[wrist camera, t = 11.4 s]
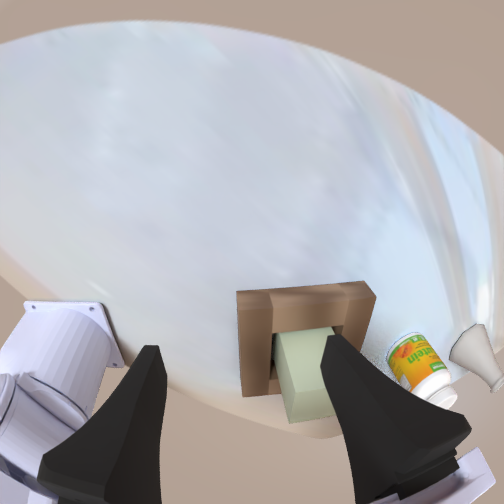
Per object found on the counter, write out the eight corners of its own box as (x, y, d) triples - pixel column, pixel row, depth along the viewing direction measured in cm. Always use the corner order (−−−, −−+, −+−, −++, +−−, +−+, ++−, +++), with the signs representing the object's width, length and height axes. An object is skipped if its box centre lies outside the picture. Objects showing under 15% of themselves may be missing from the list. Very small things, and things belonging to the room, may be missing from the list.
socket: (240, 378, 27) (242, 397, 25) (236, 291, 22) (238, 310, 20) (341, 365, 28) (348, 382, 26) (363, 280, 23) (376, 296, 21)
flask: (488, 317, 30) (525, 358, 21) (470, 352, 33) (500, 392, 25) (460, 328, 30) (500, 376, 21) (442, 364, 33) (473, 410, 24)
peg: (272, 353, 26) (289, 423, 19) (275, 318, 24) (295, 392, 17) (317, 348, 26) (342, 413, 19) (324, 313, 24) (357, 381, 17)
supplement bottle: (425, 324, 28) (469, 382, 19) (419, 353, 30) (454, 407, 21) (387, 341, 28) (427, 407, 19) (383, 369, 30) (416, 429, 21)
